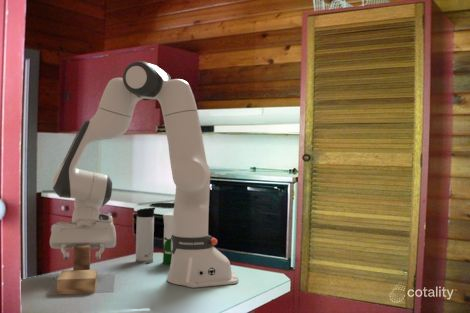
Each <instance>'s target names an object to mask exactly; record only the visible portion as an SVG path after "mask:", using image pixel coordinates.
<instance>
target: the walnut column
mask: <svg viewBox="0 0 470 313" xmlns="http://www.w3.org/2000/svg"><path fill="white" fill-rule="evenodd" d="M90 246H91V244H89V245H75V246H74V248H73V270H91V248H90Z"/></svg>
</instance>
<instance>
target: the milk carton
mask: <svg viewBox="0 0 470 313" xmlns="http://www.w3.org/2000/svg"><path fill="white" fill-rule="evenodd" d="M162 218H163V225H164V227H163V254H162V264H163V265H170V264H171V258H172V252H171V239H172V235H173V219H174V211H173V212H166V213H164V214H162Z"/></svg>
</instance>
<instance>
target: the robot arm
mask: <svg viewBox="0 0 470 313" xmlns="http://www.w3.org/2000/svg"><path fill="white" fill-rule="evenodd" d="M141 100H142V101H158V103H159V105H160V108H161V112H162V117H163V123H164V129H165V134H166V139H167V145H168V146H167V148H168V154H169V161H170V162H169V163H170V169H171V174H172V181H173V183H174V184H175V194H174V196H175V197H174V204H173V212H174V219H173V235H172V239H171V252H172V258H171V264H169V271H168V273H167V277H166V281H167V282H169V283H171V284H173V285H179V286H184V287H188V288H203V287H204V288H205V287H217V286H222V285H223V286H225V285H234V284H237V283H238V282H239V276H238V274H237V273H235V272H233V271H232V267H231V262H230V260H229V259H228V257H227V256H226V255H225V254H223V253H222V252H221V251H219V249H217V248H216V247H215V246H217V244H218V239H217V238H215V237H213V236H211V235H210V234H209V212H210V208H209V207H210V191H211V169H210V167H209V164H208V163H207V162H208V161H207V157H206V151H205V144H204V138H203V131H202V127H201V122H200V117H199V112H198V106H197V103H196V99H195V95H194V93H193V90H192V87H191V85H190V84H189V82H188V81H186V80H184V79H181V78H174V79H173V78H171V76H170V74H169V73H168V72H167V71H166V70H164V68H163V69H162V68H160V67H159V66H158V65H156V64H153V63H150V62H147V61H143V60H140V61H139V60H138V61H135V62H130V64H129V65H127V66H126V67H125V69H124V71H123V74H122V77H114V78H111V79H110V80H109V81H108V83H107V84H106V87H105V88H104V91H103V93H102V96H101V98H100V101H99V104H98V108H97V110H96V112H95V113H94V115H93V116H92V117H91V118H90V119H88V120H85V121H84V122H82V123H81V126H80V127H79V129H78V131H77V132H76V135H75V136H74V139H73V140H72V143H71V145H70V147H69V149H68V151H67V153H66V154H65V155H66V156H65V158H63V161H62V163H61V165H60V167H59V169H58V170H57V172H56V173H55V175H54V176H53V179H52V189H53V191H54V193H55V194H56V195H57V196H58V197H60V198H67V199H74V201H73V202H74V203H73V207H74V209H73V211H72V216H71V221H58V222H56V223H54V224H52V225H51V228H50V232H51V235H50V237H49V246H50V248H51V249H53V250H58V249H60V251H61V253H62V255H63V260H65V261H66V260H69V257H70V252H69V251H67V250H68V249H74V246H75V245H89V244H91V246H90V249H99V250H98V251H95V260H101V255H102V254H103V253H104V251H105V249H114V248H115V247H116V246H117V233H116V232H117V231H116V226H115V225H114V218H113V216H112V215H110V214H105V213H102V212H100V209H101V208H103V207H104V206H105V205H106V204H107V203H108V202H109V201H110V200H111V198H112V192H113V182H112V179H111V177H110V176H109V175H107V174H106V173H105V174H104V173H100V172H95V171H89V170H86V169H80V168H77V165H78V164H79V161H80V158H82V155H83V152H85V151H84V150H85V149H86V147H87V146H88V145H89V144H90V143H91V144H92V143H93V142H97V141H104V140H111V139H116V138H119V137H121V136H122V135H124V134H125V133H126V132H127V131H128V129H129V127H130V125H131V122H132V119H133V116H134V115H133V114H134V112H135V108H136V106H137V103H138V102H140V101H141Z"/></svg>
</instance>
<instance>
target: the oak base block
mask: <svg viewBox="0 0 470 313" xmlns="http://www.w3.org/2000/svg"><path fill="white" fill-rule="evenodd" d="M97 275H98V269H90V270H72V269H71V270H70V269H69V270H66V269H65V270H61V272H60V274H59V275H58V276H59V277H58V279H57V294H56V295H70V294H71V295H72V294H74V293H78V294H96V293H95V290H96V286H97Z"/></svg>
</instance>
